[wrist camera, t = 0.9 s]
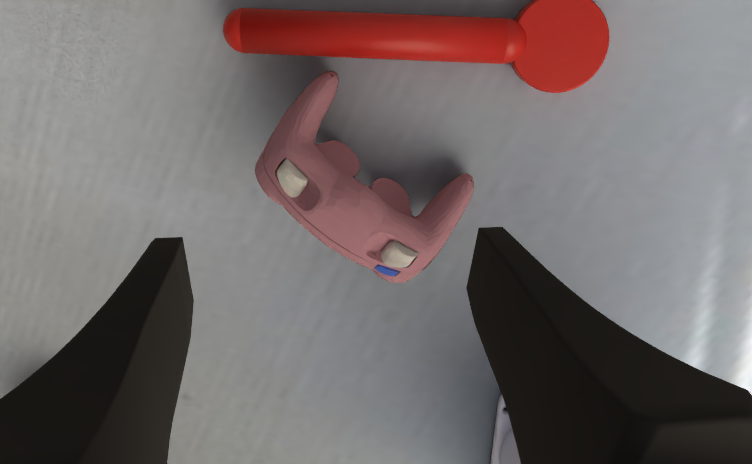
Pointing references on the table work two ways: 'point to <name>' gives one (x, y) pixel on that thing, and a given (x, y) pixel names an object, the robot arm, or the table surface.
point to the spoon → (440, 38)
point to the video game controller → (352, 194)
